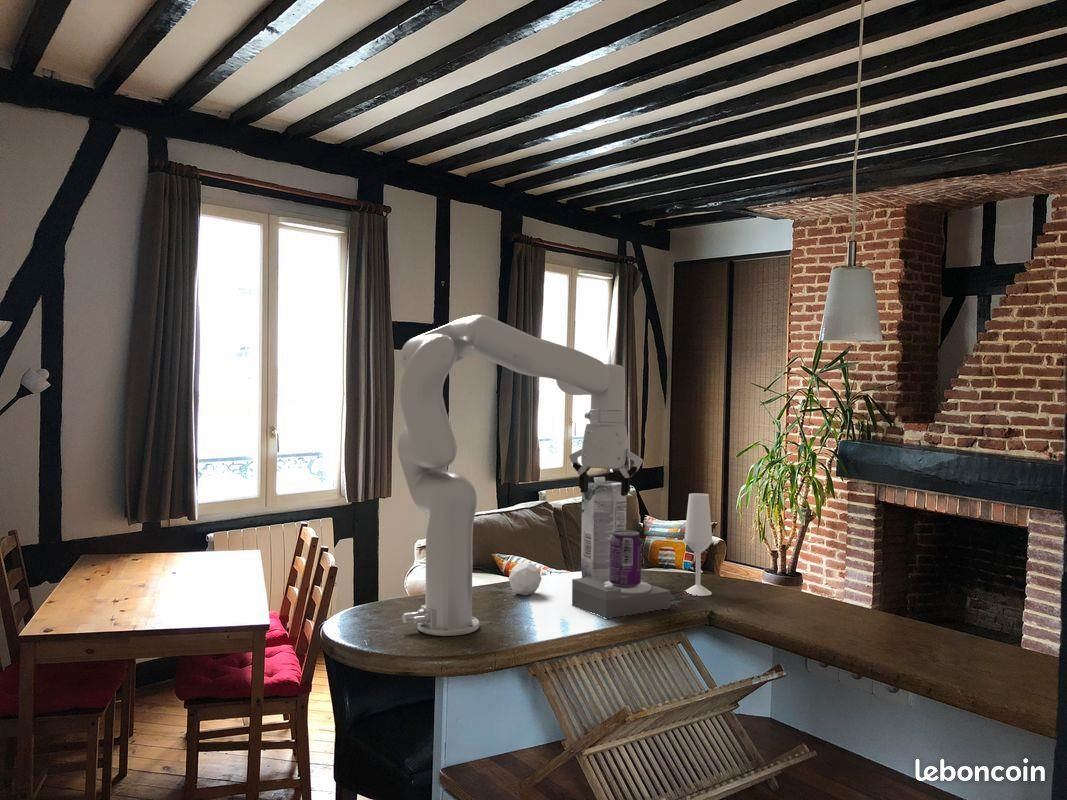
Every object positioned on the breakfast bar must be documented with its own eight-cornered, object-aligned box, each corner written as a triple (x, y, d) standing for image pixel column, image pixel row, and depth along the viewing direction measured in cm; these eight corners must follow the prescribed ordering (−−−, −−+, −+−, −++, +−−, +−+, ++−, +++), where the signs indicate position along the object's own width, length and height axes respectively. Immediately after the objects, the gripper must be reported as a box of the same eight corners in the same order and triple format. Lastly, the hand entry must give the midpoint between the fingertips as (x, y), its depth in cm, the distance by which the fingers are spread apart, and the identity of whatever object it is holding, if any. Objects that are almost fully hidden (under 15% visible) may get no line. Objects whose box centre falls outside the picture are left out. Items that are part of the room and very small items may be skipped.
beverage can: (646, 585, 182) (647, 532, 182) (628, 590, 176) (629, 536, 176) (621, 580, 186) (622, 528, 186) (603, 585, 181) (603, 532, 181)
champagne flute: (679, 592, 195) (680, 494, 195) (691, 587, 200) (692, 492, 200) (704, 597, 191) (705, 496, 190) (716, 591, 196) (717, 494, 196)
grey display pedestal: (605, 619, 170) (606, 588, 170) (572, 605, 182) (572, 576, 182) (670, 608, 180) (670, 579, 180) (634, 596, 191) (634, 568, 191)
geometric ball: (528, 603, 194) (545, 575, 197) (531, 599, 186) (548, 570, 189) (502, 586, 195) (519, 558, 198) (503, 582, 187) (521, 553, 190)
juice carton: (630, 583, 204) (631, 478, 204) (597, 588, 199) (598, 479, 199) (609, 576, 212) (610, 475, 212) (576, 581, 206) (577, 476, 206)
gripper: (565, 417, 182) (562, 492, 181) (638, 419, 175) (635, 498, 174) (577, 417, 189) (574, 489, 188) (648, 420, 181) (645, 495, 181)
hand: (604, 493), depth 181 cm, fingers open, 9 cm apart
